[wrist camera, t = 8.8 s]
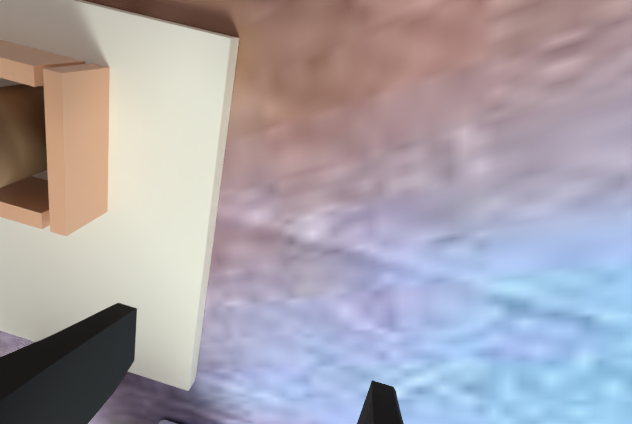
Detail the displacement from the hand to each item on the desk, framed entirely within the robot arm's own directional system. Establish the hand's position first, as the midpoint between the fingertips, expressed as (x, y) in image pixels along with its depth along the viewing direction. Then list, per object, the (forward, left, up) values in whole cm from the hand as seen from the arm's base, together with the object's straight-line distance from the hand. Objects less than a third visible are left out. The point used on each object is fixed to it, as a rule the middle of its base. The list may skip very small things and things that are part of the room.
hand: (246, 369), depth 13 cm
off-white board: (-2, +12, -10) cm, 16 cm away
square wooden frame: (+2, +14, -10) cm, 17 cm away
